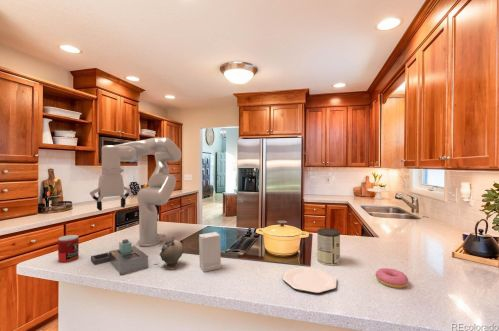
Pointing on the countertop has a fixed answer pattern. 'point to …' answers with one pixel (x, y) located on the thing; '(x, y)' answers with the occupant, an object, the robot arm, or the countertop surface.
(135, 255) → the port panel
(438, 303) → the countertop surface
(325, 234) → the coffee can
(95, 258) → the tray
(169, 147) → the robot arm
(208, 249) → the skincare box
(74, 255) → the canned food
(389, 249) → the countertop surface
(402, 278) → the doughnut
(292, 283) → the plate
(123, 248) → the plug
